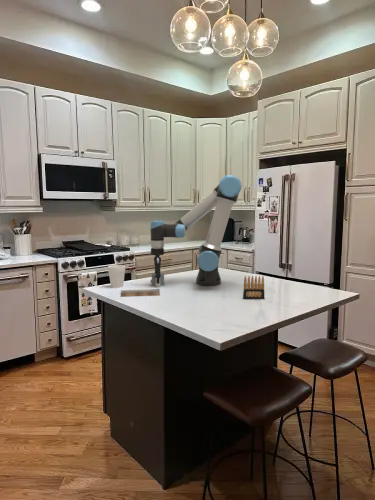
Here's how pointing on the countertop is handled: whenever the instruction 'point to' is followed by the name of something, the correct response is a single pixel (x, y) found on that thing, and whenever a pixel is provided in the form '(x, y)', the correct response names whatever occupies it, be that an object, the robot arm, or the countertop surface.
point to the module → (155, 280)
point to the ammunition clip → (253, 288)
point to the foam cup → (116, 275)
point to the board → (140, 294)
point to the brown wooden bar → (140, 291)
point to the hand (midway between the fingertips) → (157, 286)
